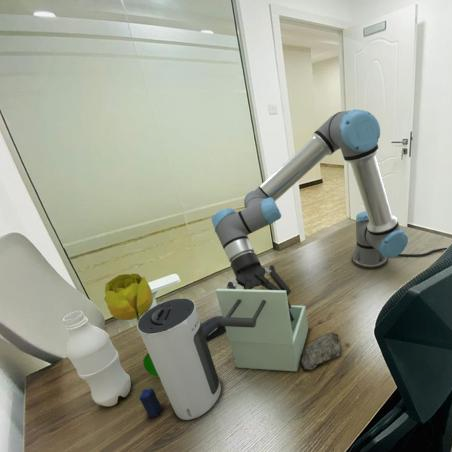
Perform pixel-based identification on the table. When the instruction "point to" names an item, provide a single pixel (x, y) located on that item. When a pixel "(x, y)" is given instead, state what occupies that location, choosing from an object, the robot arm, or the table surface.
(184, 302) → the white cylindrical appliance
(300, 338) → the chest
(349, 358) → the table surface
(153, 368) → the flower
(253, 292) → the lid
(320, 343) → the stone
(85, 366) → the water bottle
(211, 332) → the computer mouse
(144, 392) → the eraser
